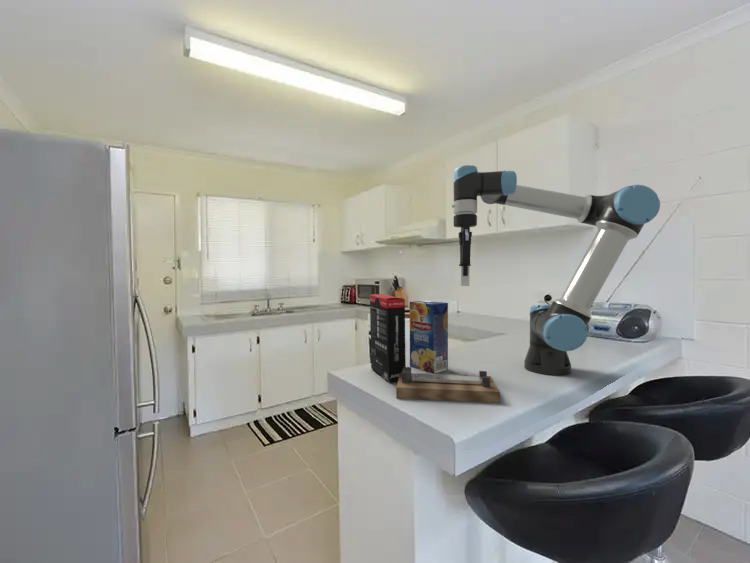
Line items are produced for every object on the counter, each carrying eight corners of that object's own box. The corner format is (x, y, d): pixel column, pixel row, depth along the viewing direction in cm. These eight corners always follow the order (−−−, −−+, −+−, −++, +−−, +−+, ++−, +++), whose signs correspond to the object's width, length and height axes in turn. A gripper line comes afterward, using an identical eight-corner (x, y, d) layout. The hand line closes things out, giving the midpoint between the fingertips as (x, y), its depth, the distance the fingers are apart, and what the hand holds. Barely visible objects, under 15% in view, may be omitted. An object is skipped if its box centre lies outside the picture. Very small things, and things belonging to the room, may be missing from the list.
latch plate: (490, 385, 109) (490, 366, 109) (500, 402, 95) (500, 380, 95) (400, 381, 113) (400, 363, 113) (396, 397, 99) (396, 376, 99)
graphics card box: (407, 381, 114) (407, 296, 113) (387, 383, 112) (387, 297, 111) (386, 367, 130) (386, 293, 129) (369, 369, 128) (368, 294, 127)
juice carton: (448, 369, 126) (448, 302, 125) (433, 373, 122) (433, 304, 121) (423, 362, 136) (423, 300, 135) (409, 366, 131) (409, 301, 130)
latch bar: (485, 380, 104) (485, 376, 104) (487, 385, 101) (487, 381, 100) (412, 376, 108) (412, 373, 108) (411, 381, 104) (411, 377, 104)
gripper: (452, 217, 124) (452, 284, 125) (455, 211, 111) (454, 286, 112) (474, 217, 123) (473, 284, 124) (479, 211, 110) (479, 286, 111)
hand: (464, 285), depth 118 cm, fingers closed
